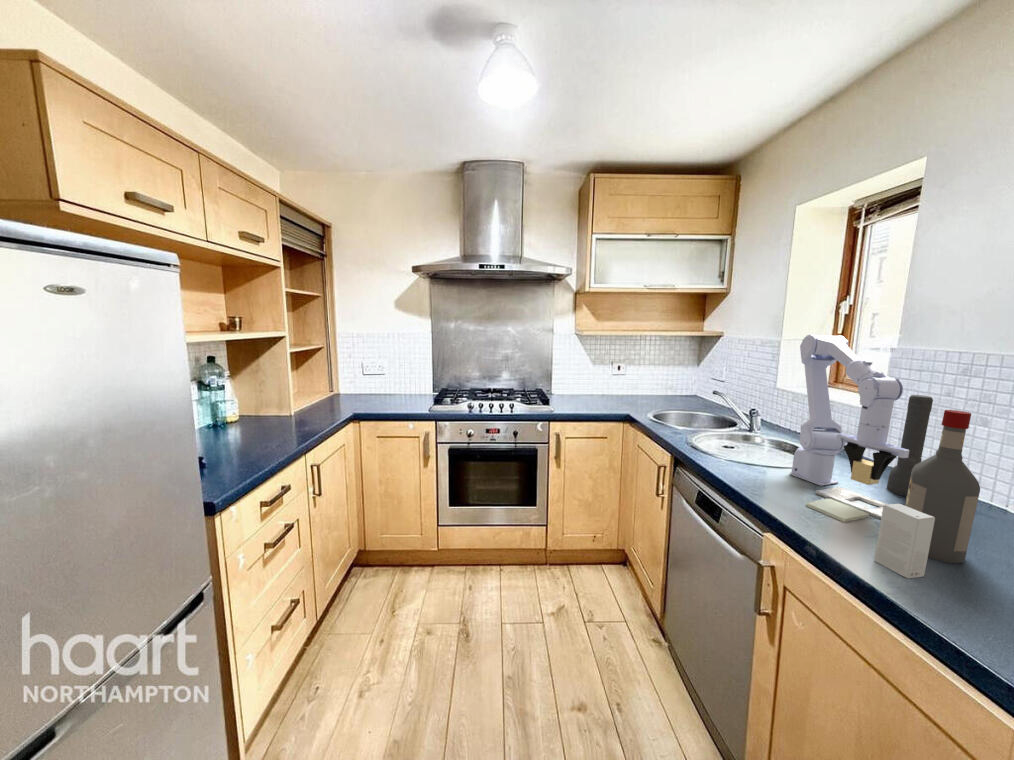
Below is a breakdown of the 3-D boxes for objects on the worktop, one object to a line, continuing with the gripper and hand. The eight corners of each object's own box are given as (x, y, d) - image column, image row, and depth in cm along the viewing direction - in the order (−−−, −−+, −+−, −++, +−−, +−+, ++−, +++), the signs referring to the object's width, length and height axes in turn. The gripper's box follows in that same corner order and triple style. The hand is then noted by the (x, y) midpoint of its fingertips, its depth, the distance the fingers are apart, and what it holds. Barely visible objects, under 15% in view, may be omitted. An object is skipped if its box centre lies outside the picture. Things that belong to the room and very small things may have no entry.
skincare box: (925, 577, 76) (937, 517, 74) (907, 579, 75) (919, 519, 73) (888, 558, 82) (899, 502, 80) (872, 560, 81) (882, 504, 79)
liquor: (957, 549, 86) (987, 412, 81) (965, 568, 79) (998, 419, 74) (898, 533, 92) (923, 404, 87) (900, 550, 85) (927, 411, 80)
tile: (805, 505, 105) (806, 502, 105) (829, 501, 108) (829, 498, 108) (844, 522, 96) (844, 519, 96) (868, 517, 99) (868, 514, 99)
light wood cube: (850, 479, 105) (853, 460, 104) (860, 477, 107) (863, 459, 106) (868, 485, 101) (871, 466, 101) (878, 483, 103) (881, 464, 102)
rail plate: (815, 493, 112) (815, 490, 112) (838, 489, 116) (839, 486, 116) (894, 525, 96) (895, 521, 96) (919, 519, 99) (920, 516, 99)
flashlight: (882, 485, 120) (892, 494, 114) (899, 392, 116) (910, 396, 109) (914, 490, 117) (925, 499, 111) (932, 395, 113) (945, 399, 106)
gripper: (832, 418, 107) (824, 467, 109) (900, 433, 94) (890, 488, 96) (849, 417, 109) (841, 464, 112) (918, 431, 96) (907, 485, 98)
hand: (865, 475), depth 104 cm, fingers closed on light wood cube, 4 cm apart
